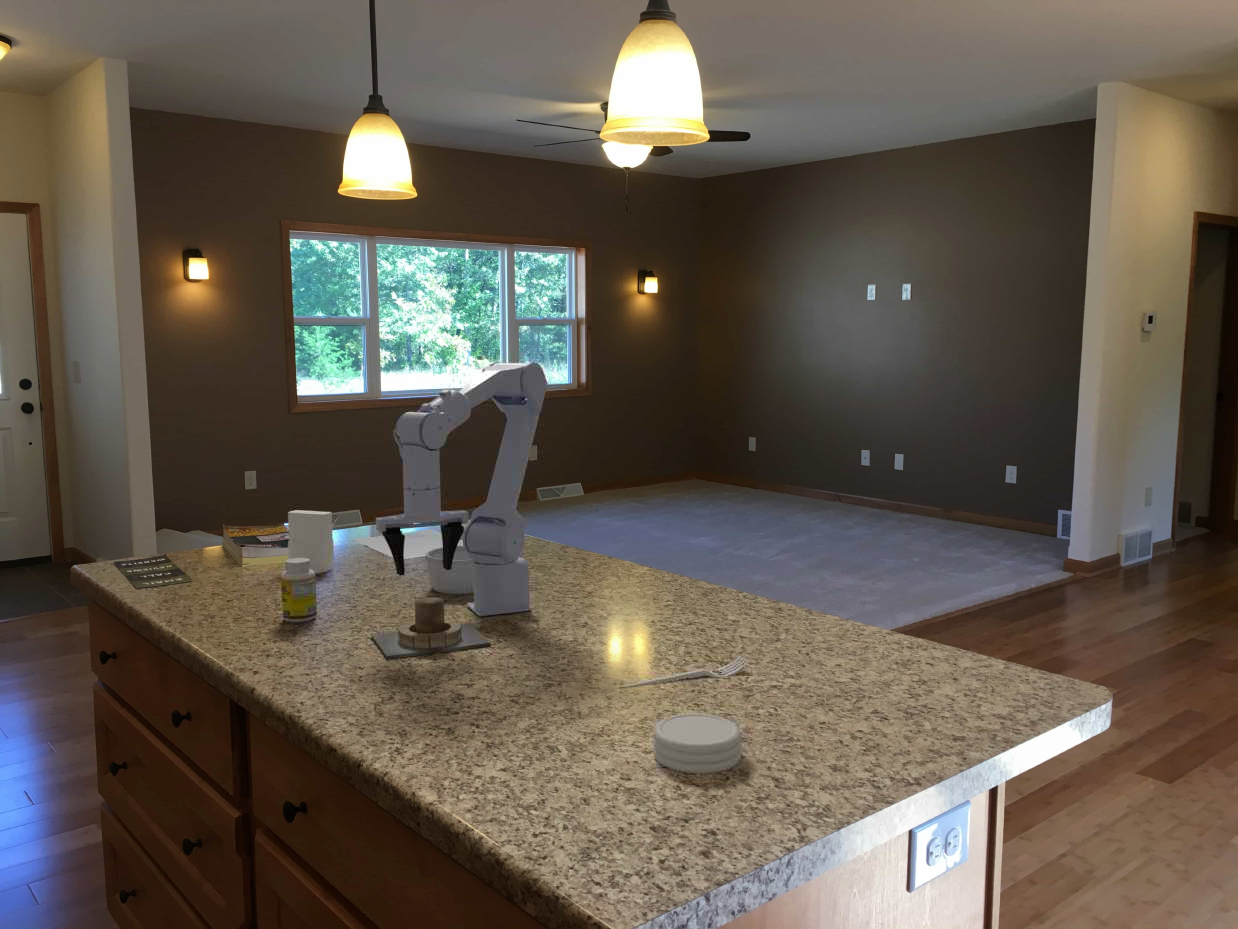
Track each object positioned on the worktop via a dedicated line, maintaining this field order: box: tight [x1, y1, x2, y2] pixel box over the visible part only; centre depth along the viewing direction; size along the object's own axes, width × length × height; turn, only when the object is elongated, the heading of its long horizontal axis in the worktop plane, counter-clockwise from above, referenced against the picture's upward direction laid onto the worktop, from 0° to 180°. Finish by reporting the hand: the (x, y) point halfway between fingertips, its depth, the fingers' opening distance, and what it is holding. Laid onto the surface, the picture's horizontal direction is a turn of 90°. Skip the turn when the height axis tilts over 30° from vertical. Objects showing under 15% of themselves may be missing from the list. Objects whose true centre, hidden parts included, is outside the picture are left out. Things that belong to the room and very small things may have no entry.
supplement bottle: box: [280, 558, 318, 623], centre depth 165 cm, size 6×6×10 cm
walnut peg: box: [414, 597, 445, 634], centre depth 153 cm, size 4×4×6 cm
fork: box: [623, 656, 750, 688], centre depth 137 cm, size 3×20×2 cm, turn 113°
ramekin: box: [425, 545, 474, 595], centre depth 188 cm, size 13×13×7 cm
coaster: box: [652, 712, 743, 775], centre depth 111 cm, size 10×10×4 cm
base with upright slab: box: [287, 509, 335, 574], centre depth 202 cm, size 9×9×12 cm
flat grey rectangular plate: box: [370, 618, 492, 660], centre depth 153 cm, size 16×12×2 cm
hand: (424, 571), depth 156 cm, fingers open, 7 cm apart
